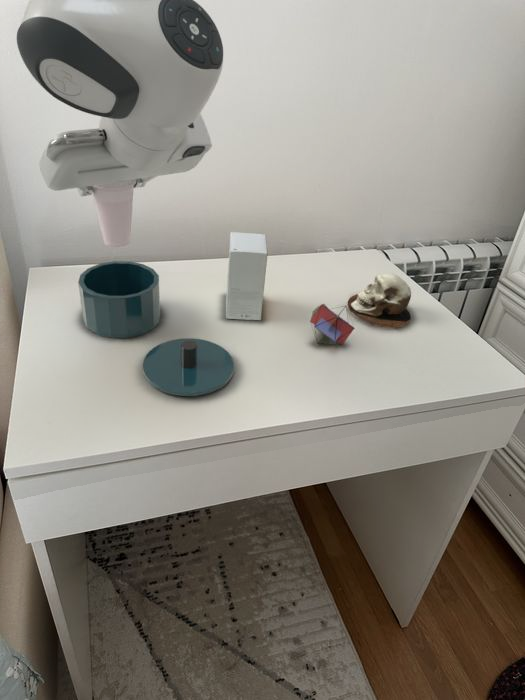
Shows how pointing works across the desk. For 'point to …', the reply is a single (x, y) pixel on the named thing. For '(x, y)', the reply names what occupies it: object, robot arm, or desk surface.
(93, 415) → the desk surface
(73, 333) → the desk surface
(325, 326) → the geometric puzzle
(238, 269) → the small box
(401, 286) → the skull
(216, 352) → the lid
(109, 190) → the smoothie
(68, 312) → the desk surface
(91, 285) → the pot
